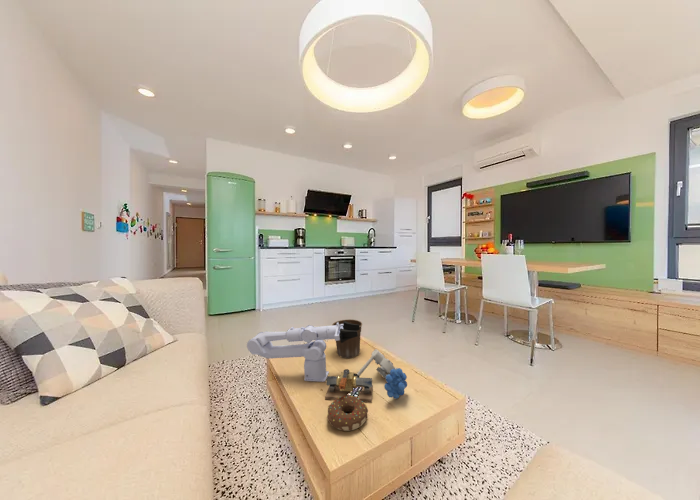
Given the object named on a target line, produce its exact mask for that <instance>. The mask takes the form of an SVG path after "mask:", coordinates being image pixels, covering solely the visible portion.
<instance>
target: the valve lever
mask: <svg viewBox="0 0 700 500" xmlns="http://www.w3.org/2000/svg"><path fill="white" fill-rule="evenodd" d="M343 372H344V375H343V378H341V381H340V385H339V388H340V389H345V387H346V383H347V377H348V375H349V374H350V369H348V368H347V369H344V370H343Z"/></svg>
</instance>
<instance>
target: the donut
mask: <svg viewBox="0 0 700 500" xmlns="http://www.w3.org/2000/svg"><path fill="white" fill-rule="evenodd" d="M347 411H349V413H347ZM368 412H369V410H368V407H367V405H366V403H365V402H363V401H361V400H359V398H357V397H354V396H351V395H350V396H344V397H339V398H337V399H336V400H332V402H331V403H330V404H329V405H328V406H327V417H326V418H327V420H328V422H329V424H330V425H331V426H332V427H333V428H336V429H337V430H339V431H342V432H344V431H345V432H351V431H354V430H358V428H360V427H361V426H363V424H364V423H365V422H366V421H367V419H368Z"/></svg>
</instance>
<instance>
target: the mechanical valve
mask: <svg viewBox="0 0 700 500" xmlns="http://www.w3.org/2000/svg"><path fill="white" fill-rule="evenodd" d="M373 361H374V363H375V364H376V365H378V366H377V367H376V369H375V370H376V371H377V372H378V373H379V375H381V376H382V377H383V378H384V379H386V376H387V375H388V374H390V371H391V369H395V370H396V369H398V367H396V366H394V363H393V362H392V361H391V360H390V359H389V358H386V357H385V355H384V354H382V352H380V350H379V349H377V348H376V349H374V350H373V351H372V352H371V357H370V358H369V359H368V360H367V361H366V362H365V364H364V365H362V367H361V368H360V369H359V371H358V372H357V373H355V372H353V373H354V376H357V377H359V378H361V377H360V376H361V375H362V374H363V373H364V371H365V370H366V369H367V368H368V367H369V366H370V364H371V363H372V362H373Z"/></svg>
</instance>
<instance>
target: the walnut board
mask: <svg viewBox="0 0 700 500" xmlns="http://www.w3.org/2000/svg"><path fill="white" fill-rule="evenodd" d="M329 386H330V385H328V388H327V391H326V392H325V393H326V394H325V396H324V400H326V401H334V400H336V399H337V398H339V397H344V396H347V394H348V393H349V392H350V391H340V388H339V387H337V386H336V389H335V392H329ZM373 391H374V385H373V384H372V387H370V394H364V387H363V389H362V391H361V393H360V394H359V396H358V398H359V400H361V401H363V403H372V401H373V394H374V393H373Z"/></svg>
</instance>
